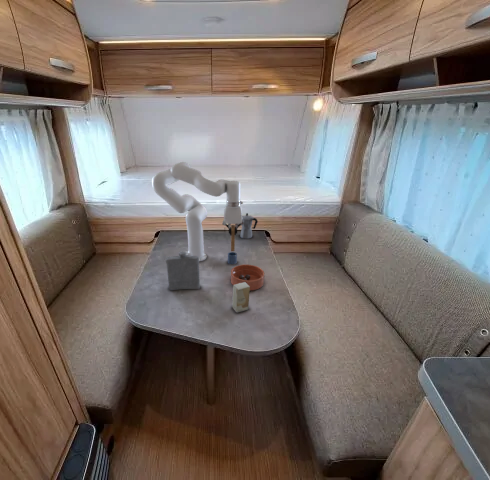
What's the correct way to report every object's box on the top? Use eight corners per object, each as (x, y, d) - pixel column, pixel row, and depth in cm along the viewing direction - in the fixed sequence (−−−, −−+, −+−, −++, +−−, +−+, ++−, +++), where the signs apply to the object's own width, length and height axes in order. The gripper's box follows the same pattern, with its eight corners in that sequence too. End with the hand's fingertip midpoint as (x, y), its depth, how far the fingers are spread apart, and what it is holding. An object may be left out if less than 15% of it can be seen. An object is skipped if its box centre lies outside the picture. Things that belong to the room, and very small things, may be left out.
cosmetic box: (236, 313, 118) (237, 289, 113) (232, 307, 122) (232, 284, 117) (249, 309, 120) (250, 286, 116) (244, 303, 124) (245, 281, 119)
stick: (231, 251, 157) (231, 226, 151) (230, 250, 159) (231, 224, 153) (234, 251, 157) (234, 226, 151) (234, 249, 159) (234, 224, 153)
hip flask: (168, 290, 136) (165, 255, 128) (169, 285, 139) (166, 251, 131) (199, 289, 136) (198, 254, 128) (199, 284, 140) (198, 250, 132)
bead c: (244, 274, 141) (244, 280, 141) (249, 275, 140) (249, 280, 140) (245, 273, 144) (245, 279, 144) (251, 274, 142) (251, 279, 143)
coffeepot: (235, 236, 200) (235, 213, 193) (242, 232, 207) (242, 210, 200) (253, 241, 191) (254, 217, 184) (259, 237, 198) (261, 213, 191)
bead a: (237, 278, 143) (237, 277, 140) (241, 274, 143) (240, 273, 141) (241, 282, 142) (241, 281, 139) (245, 278, 142) (245, 277, 140)
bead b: (239, 281, 139) (241, 276, 139) (242, 283, 140) (244, 278, 141) (243, 282, 136) (246, 277, 137) (246, 285, 138) (249, 279, 139)
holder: (228, 265, 159) (228, 256, 157) (227, 260, 164) (227, 252, 162) (237, 264, 159) (237, 255, 157) (236, 260, 164) (236, 251, 162)
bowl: (232, 291, 133) (232, 281, 131) (229, 274, 149) (229, 264, 147) (266, 291, 133) (267, 280, 131) (260, 273, 149) (260, 264, 147)
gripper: (246, 201, 150) (245, 232, 158) (218, 202, 150) (218, 232, 158) (248, 205, 143) (247, 236, 151) (219, 206, 144) (219, 237, 151)
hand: (232, 234), depth 154 cm, fingers closed on stick, 2 cm apart
